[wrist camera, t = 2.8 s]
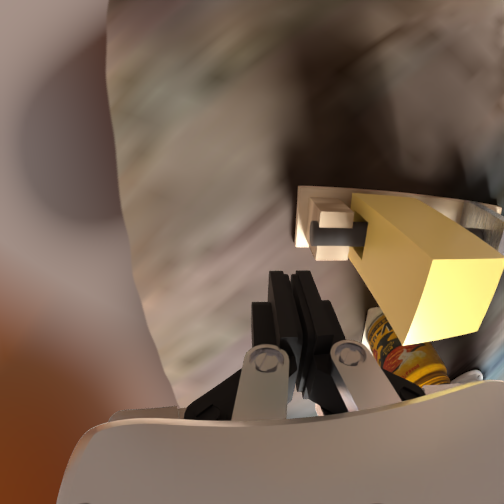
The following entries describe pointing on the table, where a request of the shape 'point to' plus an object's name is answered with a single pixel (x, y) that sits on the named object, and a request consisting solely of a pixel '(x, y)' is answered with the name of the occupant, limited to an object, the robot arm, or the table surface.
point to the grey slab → (484, 223)
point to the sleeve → (423, 268)
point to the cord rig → (341, 218)
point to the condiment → (402, 353)
